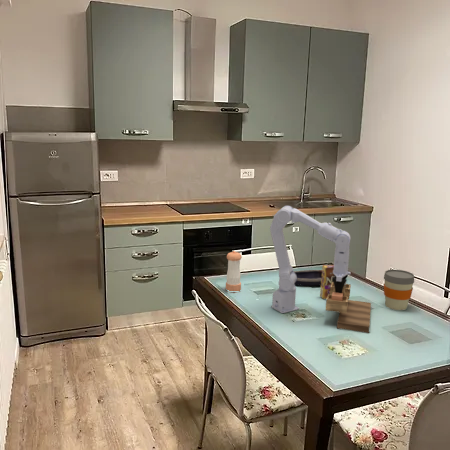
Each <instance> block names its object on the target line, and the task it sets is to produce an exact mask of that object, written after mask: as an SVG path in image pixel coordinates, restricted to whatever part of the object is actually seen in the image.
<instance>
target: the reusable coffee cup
mask: <svg viewBox="0 0 450 450" xmlns="http://www.w3.org/2000/svg"><path fill="white" fill-rule="evenodd" d="M383 280H384V283H383V295H384V299H385V301H384V302H385V303H384V306H385V307H387V308H388V309H390V310H394V311H405V310H406V309H408V305H409V302H410V299H411V297H412V293H413V290H414V289H413V288H414V287H413V284H414V283H415V274H414V273H412V272H411V271H407V270H402V269H387V270H385V271H384V276H383Z"/></svg>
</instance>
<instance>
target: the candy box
mask: <svg viewBox="0 0 450 450" xmlns="http://www.w3.org/2000/svg"><path fill="white" fill-rule="evenodd" d="M321 270H322V279H321V286H320V292H319V296H320V298H321V299H323V300H326V299H327V296H328V294H330V287H331V283H332V282H333V280H332V278H333V277H334V274H333V270H334V264H322V269H321Z"/></svg>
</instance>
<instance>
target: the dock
mask: <svg viewBox="0 0 450 450" xmlns="http://www.w3.org/2000/svg"><path fill="white" fill-rule="evenodd" d="M371 307H372V302H368V301H360V300H359V301H358V300H351V299H348V307H347V313H341V312H338V313H339V314H338V318H337V322H336V329H339V330H345V331H354V332H361V333H367V334H368V333H370V324H371V310H372V309H371Z"/></svg>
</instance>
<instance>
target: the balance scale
mask: <svg viewBox="0 0 450 450" xmlns="http://www.w3.org/2000/svg"><path fill="white" fill-rule="evenodd" d="M351 286H352V285H351V283H350V284H349V283H346V288H345V285H344V287H343V290H342V293H343V301H337V300H332V293H333V292H335V285H334V282H332V283H331V287H330V294H328V296H327V299H325V311H327V312H334V313H340V312H341V313H347V307H348V300H350V296H351Z"/></svg>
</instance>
